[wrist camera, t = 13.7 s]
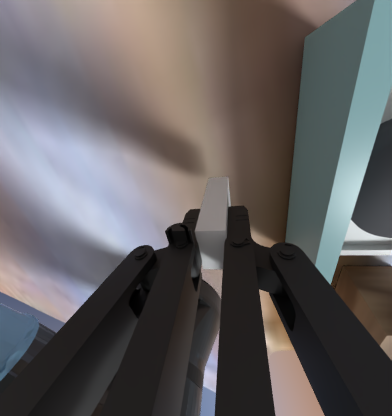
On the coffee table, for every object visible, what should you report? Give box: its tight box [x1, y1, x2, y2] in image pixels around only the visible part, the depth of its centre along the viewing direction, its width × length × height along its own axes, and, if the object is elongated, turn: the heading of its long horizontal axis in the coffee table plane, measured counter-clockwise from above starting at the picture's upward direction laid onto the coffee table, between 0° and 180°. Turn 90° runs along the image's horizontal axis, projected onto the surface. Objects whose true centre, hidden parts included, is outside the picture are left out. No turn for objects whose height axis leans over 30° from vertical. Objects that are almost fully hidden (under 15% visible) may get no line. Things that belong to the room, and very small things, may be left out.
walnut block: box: [335, 266, 392, 360], centre depth 18 cm, size 4×4×7 cm
